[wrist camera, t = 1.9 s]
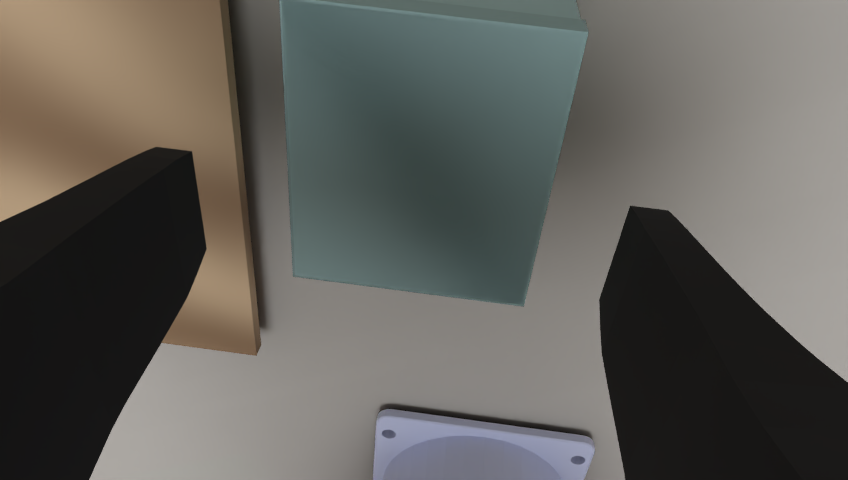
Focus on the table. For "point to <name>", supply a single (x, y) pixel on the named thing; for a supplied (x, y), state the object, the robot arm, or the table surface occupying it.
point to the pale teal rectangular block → (425, 139)
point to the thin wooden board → (134, 128)
